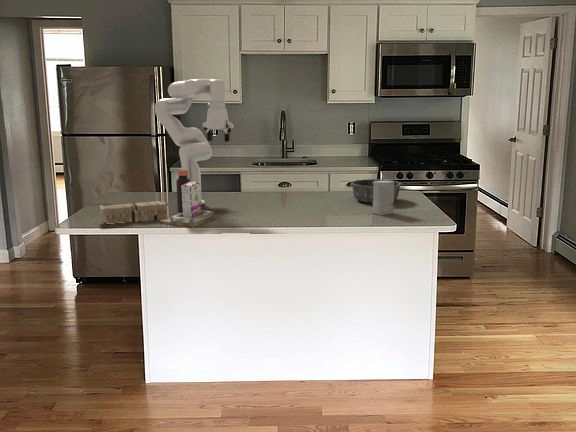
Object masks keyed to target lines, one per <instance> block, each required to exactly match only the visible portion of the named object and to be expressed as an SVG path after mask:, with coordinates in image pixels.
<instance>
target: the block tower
mask: <svg viewBox="0 0 576 432" xmlns="http://www.w3.org/2000/svg"><path fill="white" fill-rule="evenodd" d="M99 211H100V213H101V215H102V217H103V218H102V219H103V222H104V221H105V223H118V222H134V223H138V221H141V222H151V221H155V220H157V221H160V220H163V219H166V218H167V203H166V202H164V201H160V200H158V201H157V200H156V201H147V202H146V201H144V202H135V203H134V205H133V203H121V204H120V203H119V204H113V205H112V204H111V205H102V204H101V205H99ZM154 217H155V218H154ZM132 220H134V221H132ZM105 223H104V224H105Z"/></svg>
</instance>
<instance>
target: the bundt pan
mask: <svg viewBox="0 0 576 432" xmlns="http://www.w3.org/2000/svg"><path fill="white" fill-rule="evenodd" d="M374 181H392V182H394V201H396V200H397V199H398V197H399V193H400V189H401V188H400V187H401V185H402V184H401V182H399V181H397V180H389V179H383V178H382V179H381V178H380V179H376V178H373V179H372V178H369V179H356V180H351V183H350V184H351V186H352V187H351V189H352V194H353V197H354V198H355V200H357V201H359V202H360V203H370V204H373V182H374Z"/></svg>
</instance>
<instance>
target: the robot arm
mask: <svg viewBox="0 0 576 432" xmlns="http://www.w3.org/2000/svg"><path fill="white" fill-rule="evenodd" d="M225 85H226V84H225V80H223V79H220V78H219V79H217V78H215V79H214V78H195V79H194V78H193V79H187V80H181V81H175V82H172V83H170V84H169V85H168V88H167V93H168V94H169V96H170V97H171V98H169V97H167V98H161V99H159V100H157V101H156V103H155V104H154V111H155V116H156V118H157V121H158V122H159V123H160V124H161V125H162V126H163V127H164V129H165V131H166V132H167V134H168V135H169V136H170V138H171V140H172V141H173V142H174V144H175V145H176V146H178V147H179V149H178V155H179V160H180V164H181V170H188V176H187V178H188V179H189V180H190V182H191V181H193V182H194V181H196V182H200V196H201V197H202V183H201V182H202V180H201V177H202V175H201V174H202V173H201V167H200V166H199V164H198V162H201V161H207V160H209V159H210V158H211V157H212V155H213V150H212V147H211V145H210V142H211V141H213V133H212V131H213V130H217V131H218V130H220V131H221V130H223V131H224V142H225V143H227V142H230V133H231V132H232V131H233V128H234V126H235V124H233V123H232V122H231V121H229V114H228V111H227V108H226V90H225V89H226V86H225ZM207 95H208V99H209V102H208V103H207V106H208V107H209V108H207V113H206V121H203V122H202V127H203V129H204V131H205V133H206V137H205V135H204V134H203V132H202V130H201V129H200V128H198V127H194V126H192V127H185V126H184V125H183V124H182V122H181V121H180V120H179V119H178V118H177V117H176V116H174V115H183V114H185V113H187V112H188V110H190V109H189V108H190V107H191V105H192V103H193V101H194V99H195V96H207ZM204 204H205V200H204V199H201V205H204Z"/></svg>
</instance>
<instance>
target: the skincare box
mask: <svg viewBox="0 0 576 432" xmlns="http://www.w3.org/2000/svg"><path fill="white" fill-rule="evenodd" d="M392 181H393V180H392ZM392 181H374V182H373V203H372V213H373V214H374V215H375V214H376V215H379V216H384V215H385V216H386V215H393V214H394V203H395V200H394V182H392Z"/></svg>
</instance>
